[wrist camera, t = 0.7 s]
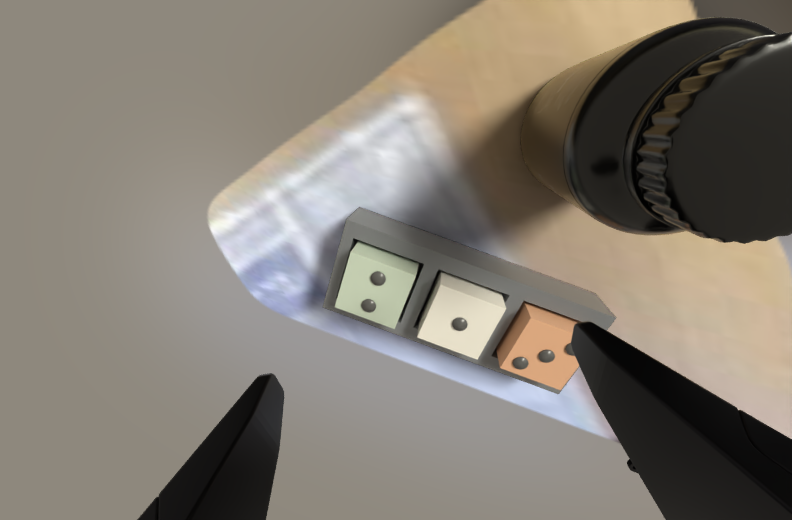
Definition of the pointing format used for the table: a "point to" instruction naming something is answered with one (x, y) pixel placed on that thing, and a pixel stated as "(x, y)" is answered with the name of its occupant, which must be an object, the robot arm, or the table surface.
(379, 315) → the tile two dots
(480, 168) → the table surface
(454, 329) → the tile one dot
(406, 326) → the grey tile tray
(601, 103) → the supplement bottle
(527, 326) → the tile three dots
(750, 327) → the table surface
